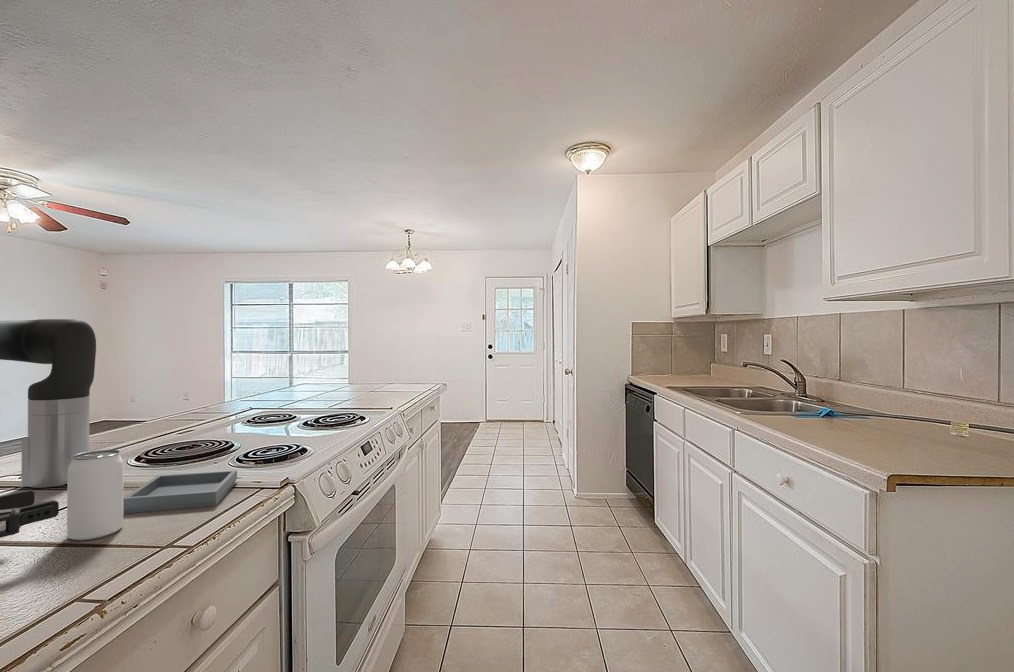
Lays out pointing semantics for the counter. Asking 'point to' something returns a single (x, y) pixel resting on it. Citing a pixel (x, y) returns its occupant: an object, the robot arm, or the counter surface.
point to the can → (94, 495)
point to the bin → (180, 491)
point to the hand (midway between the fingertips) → (45, 502)
